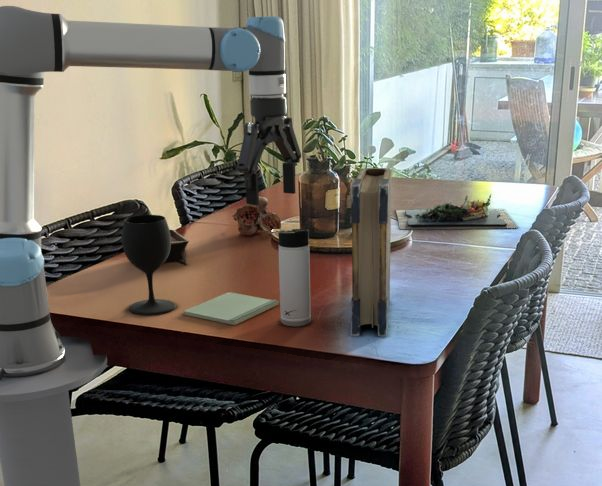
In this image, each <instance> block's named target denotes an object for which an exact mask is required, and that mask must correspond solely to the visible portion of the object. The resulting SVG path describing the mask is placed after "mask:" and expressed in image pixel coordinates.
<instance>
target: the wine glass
mask: <svg viewBox="0 0 602 486" xmlns="http://www.w3.org/2000/svg"><path fill="white" fill-rule="evenodd" d="M121 230H122V231H121V244H122V249H123V252H124V255H125V257H126V258H127V260H128V261H129V262H130V263H131V264H132V265H133V266H134V267H135V268H137V269H138V270H139V271H140V272H143V273H144V274H145V276H146V280H147V286H148V299H145V300H140V301H137V302H134V303H132V304H131V305H129V306H128V311H129V312H130V313H132V314H134V315H139V316H158V315H163V314H168V313H170V312H172V311H174V310H175V309H176V306H177V305H176V303H175V302H174V301H172V300H169V299H161V298H156V297H155V294H154V285H153V283H154V281H153V278H154V273H155V272H156V271H157V270H158V269H160V268H161V267H162V265H164V263H166V262H165V261H166V259H167V257H168V255H169V253H170V249H171V235H170V231H169V230H170V227H169V225H168V222H167V219H166V217H165V216H163V215H161V214H139V215H133V216H129V217H126V218H125V219H124V220H123V224H122V229H121Z"/></svg>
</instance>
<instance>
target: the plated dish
mask: <svg viewBox="0 0 602 486" xmlns="http://www.w3.org/2000/svg"><path fill="white" fill-rule="evenodd" d="M491 198H492V193H490V195H489V196H488V198H487V200H486V202H485V201H484V199H483V200H479V199H477V200H475V199H474V200H468V194H467V195H465V199H464V202H463V203H461V204H459V206H458V205H454V204H452V202H449V203H448V202H445V203H443V204H436V205H433V207H432V208H430V207H428V208H426V209H395V213H396V217H397V221H398V226H399V230H448V229H449V230H452V229H453V230H454V229H455V230H457V229H458V230H459V229H462V230H463V229H518V227H517V225H516V224H515V223H514V222H513V220H512V219H511V218H510V217H509V215H508V214H507V212H506V211H505V210H504V209H501V208H499V209H495V208H494V209H491V208H490V209H489V206H490V205H491Z"/></svg>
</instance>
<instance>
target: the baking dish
mask: <svg viewBox="0 0 602 486" xmlns="http://www.w3.org/2000/svg"><path fill="white" fill-rule="evenodd" d="M169 231H170V235H171V249H170V253H169V255H168V257H167V259H166V261H165V262H164V263H176V264H181V265H185V266H187V253H188V248H187V246H188V244H189V242H190V241H189V240H188V239H187V238H186V237H184V236H183V235H181V234H180V233H179V232H177V231H176V230H174V229H169Z"/></svg>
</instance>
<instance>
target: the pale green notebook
mask: <svg viewBox="0 0 602 486" xmlns="http://www.w3.org/2000/svg"><path fill="white" fill-rule="evenodd" d="M277 306H280V301H279V300H278V299H268V298H262V297H258V296H252V295H248V294H247V295H246V294H242V293H236V292H232V291H228V292H226V293H223V294H221V295H219V296H216V297H214V298H211V299H209V300H207V301H204V302H202V303H199V304H197V305H195V306H192V307H190V308H187V309H185V310H183V311H182V312H183V314H182V315H184V316H188V317H193V318H197V319H203V320H207V321H211V322H218V323H222V324H228V325H230V326H231V325H232V326H236V325H239V324H240V323H242V322H245V321H247V320H250V319H251V318H253V317H255V316H258V315H260V314H262V313H264V312H266V311H269V310H270V309H272V308H275V307H277Z"/></svg>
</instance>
